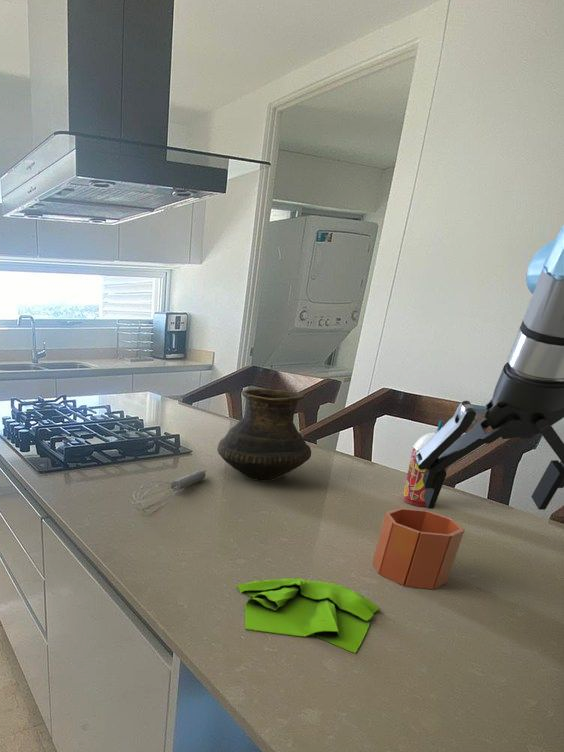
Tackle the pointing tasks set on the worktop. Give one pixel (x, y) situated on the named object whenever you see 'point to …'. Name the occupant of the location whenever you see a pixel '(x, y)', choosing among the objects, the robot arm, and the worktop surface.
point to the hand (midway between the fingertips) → (481, 502)
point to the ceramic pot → (266, 436)
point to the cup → (417, 547)
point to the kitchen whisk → (176, 485)
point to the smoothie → (417, 474)
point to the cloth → (308, 610)
